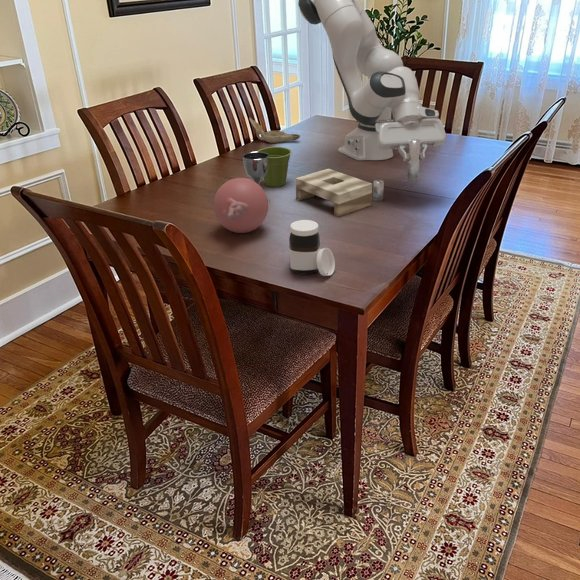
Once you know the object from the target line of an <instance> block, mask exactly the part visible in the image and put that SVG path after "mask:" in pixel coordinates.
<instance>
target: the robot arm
mask: <svg viewBox="0 0 580 580" xmlns="http://www.w3.org/2000/svg"><path fill="white" fill-rule="evenodd" d="M297 4H298V7H299V11H300V14H301V16H302V18H303V19H305V21H307V22H308V23H309V24H310V25H316V26H317V25H319V24H320V23H321V24H322V27H323V28H324V30H325V32H326V34H327V37H328V40H329V43H330V47H331V48H330V49H331V53H332V58H333V59H332V60H333V64H334V66H335V69H336V72H337V74H338V77H339V79H340V83H341V85H342V87H343V90H344V92H345V95H346V98H347V102H348V109H349V112H350V114H351V116H352V118H354V120H355V121H356V123H358V124H357V127H356V128H354V129H352V131H351V132H349V133H348V134H346V135H345V138H344V143H343V145H341V146H340V147H338V148H337V151H338V152H339V153H341V154H344V155H345V156H347V157H350V158H351V159H354V160H356V161H384V160H388V159H390V158H391V159H392V157H394V151H393V150H398V153H399V154H400V155H401V156H402V158H403V162H408V161H409V160H410V156H409V152H408V153H407V152H406V150H405V149H409V143H410V140H411V139H419V140H421V145H420V159H419V161H425V158H426V155H425V154H426V153H425V152H426V150H427V148H431V147H442V146H443V145H444V143H445V141H446V140H447V133H446V131H445V126H444V124H443V122H442V120H441V119H440V118H439V115H440V113H439V110H436V109H433V108H428V107H425V106H422V103H421V102H420V91H419V86H418V85H419V84H418V82H417V81H418V80H417V77H416V75H415V72H413V70H412V69H411V68H409V67H407V66H404V62H403V59H402V58H401V57H400V55H398V53H396V52H395V51H393V50H392V49H391V50H390V49H388V48H386V47H384V45H382V44H381V42H380V40H379V38H378V35H377V33H376V32H377V31H376V27H375V24H374V23H373V21H372V20H371V18H370V17H369V15H368V13H367V12H366V10H365V9H364V6H363V5H362V4H361V2H360V1H359V0H298V3H297ZM360 72H361V74H362V75H364V76H365V77H367V80H366V81H365V82H364V83H363V81H362V78H361V74H360Z"/></svg>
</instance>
